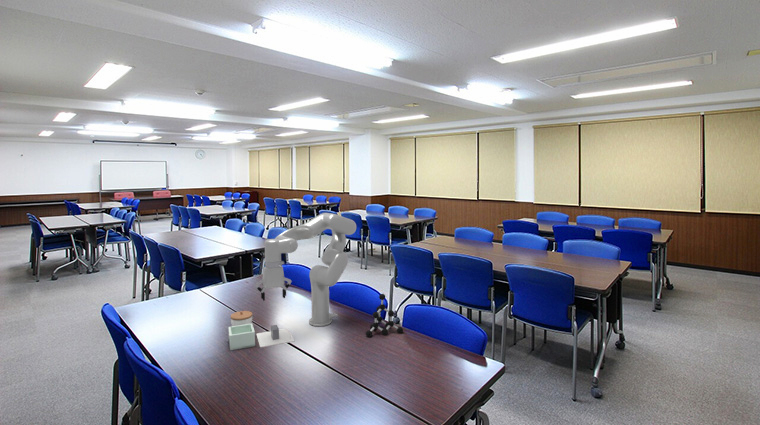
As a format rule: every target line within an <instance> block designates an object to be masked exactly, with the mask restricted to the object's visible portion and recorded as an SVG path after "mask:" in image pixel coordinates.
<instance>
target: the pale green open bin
mask: <svg viewBox="0 0 760 425" xmlns="http://www.w3.org/2000/svg"><path fill="white" fill-rule="evenodd" d="M228 344H229V351H235V350H236V351H237V350H240V349H241V350H242V349H247V348H251V347H256V331H255V328H254V325H253V322H252V323H251V324H244V325H238V326H232V325H231V326H228Z"/></svg>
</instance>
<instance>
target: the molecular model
mask: <svg viewBox="0 0 760 425" xmlns="http://www.w3.org/2000/svg"><path fill="white" fill-rule="evenodd" d="M378 298H379V300H380V301H381V302H380V303H381V304H379V305H378V306H377V307H376V311H374V312H373V313H372V317H373V323H372V324H370V325H369V328H370V329H369V330H366V331H365V336H366V337H368V338H370V336H372V335H373V331H375V330H376V329H378V330H380V331H381V333H382V335H383V336H386V335H388V333H389V329H390V328H392V327H393V328H395V330H396V331H397V334H402V333H403V332H404V328H403V327H402V326H399V327H398V326H397V325H396V324H395V322H394V320H393V317H394V315H395V311H394V310H389V309H387V308H386V305H385V304H384V300H385V299H386V294H384V293H380V294H379V295H378ZM382 311H385V312H387V315H388V316H389V321H388V322H387V321H385V320H383V316H381V312H382ZM380 323H382V324H384V328H382V327H380Z"/></svg>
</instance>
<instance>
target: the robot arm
mask: <svg viewBox="0 0 760 425" xmlns="http://www.w3.org/2000/svg"><path fill="white" fill-rule="evenodd" d="M326 230H331V235H332V237H331V240H330V242H329V244H328V246H327V247H326V249H325V251H324V252H323V254H322V257H321V263H323V264H324V265H322V264H320V265H319V264H317V265H314V266H312V267H311V268H310V270H309V273H308V274H309V280H310V281H309V282H310V289H311V290H310V291H311V318H309V320H308V324H309V325H310V326H312V327H325V326H329V325H331V324H332V323H333V319H334V318H338V317H339V315H338V313H335V312H331V313H330V287H333V286H335V285H336V284H337V283H338V281H339V280H340V278H341V276H342V275H343V273H344V271H345V270H346V268H347V266H348V263H349V256H348V254H347V253H346V252H345V251H344V249H345V247H346V245H347V236H350V235H351V236H352V235H353V234H355V232H356V230H357V224H356V222H355V221H354V220H353V219H351V218H348V217H345V216H341V215H339V214H337V213H330V212H322V213H320V214H318V215H316V216H315V217H314V218H312V219H310V220H308V221H307V222H305V223H303V224H300V225H297V226H294V227H292V228H288V229H287V230H284V231H283V232H282V233H280V234H278V235H276V237H275V238H270V239H269V238H268V239H266V240H265V241H264V267H263V269H262V278H261V279H260V280H259V281H257V282H256V283H255V284H254V286H255V288H256V289H257V290H258V291H259V292H260V295H261V296H260V298H261V300H262V301H263V302H264V301H266V294H265V291H266V290H267V289H275V288H276V289H277V288H282V293H281V294H282V298H283V299H285V298H286V296H287V290H288V288H289V287H290V286H291V283H292V282H293V281H292V280H291V279H290V278H288V277H285V274H284V267H283V265H285V261H284V260H282V254H291V253H294V252H296V251H297V249H298V247H299V244H298V241H302V240H310V239H313V238H315V237H317V236H318V235H319V234H321V233H323V232H324V231H326ZM285 282H287V283H285ZM261 284H262V287H260V285H261ZM331 322H332V323H331ZM330 323H331V324H330Z"/></svg>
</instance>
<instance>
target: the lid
mask: <svg viewBox="0 0 760 425" xmlns="http://www.w3.org/2000/svg"><path fill="white" fill-rule="evenodd" d="M255 336H256V337H257V342H258V344H259V347H260V348H265V347H267V348H268V347H271V346H277V345H283V344H288V343H293V342H295V339H294V337H293V335H292V333H291V331H290V329H289V328H288V327H287V328H283V329H282V328H281V329H279V326H278V325H277V324H273V325H270V331H265V332H264V331H263V332H258V333H255Z"/></svg>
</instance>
